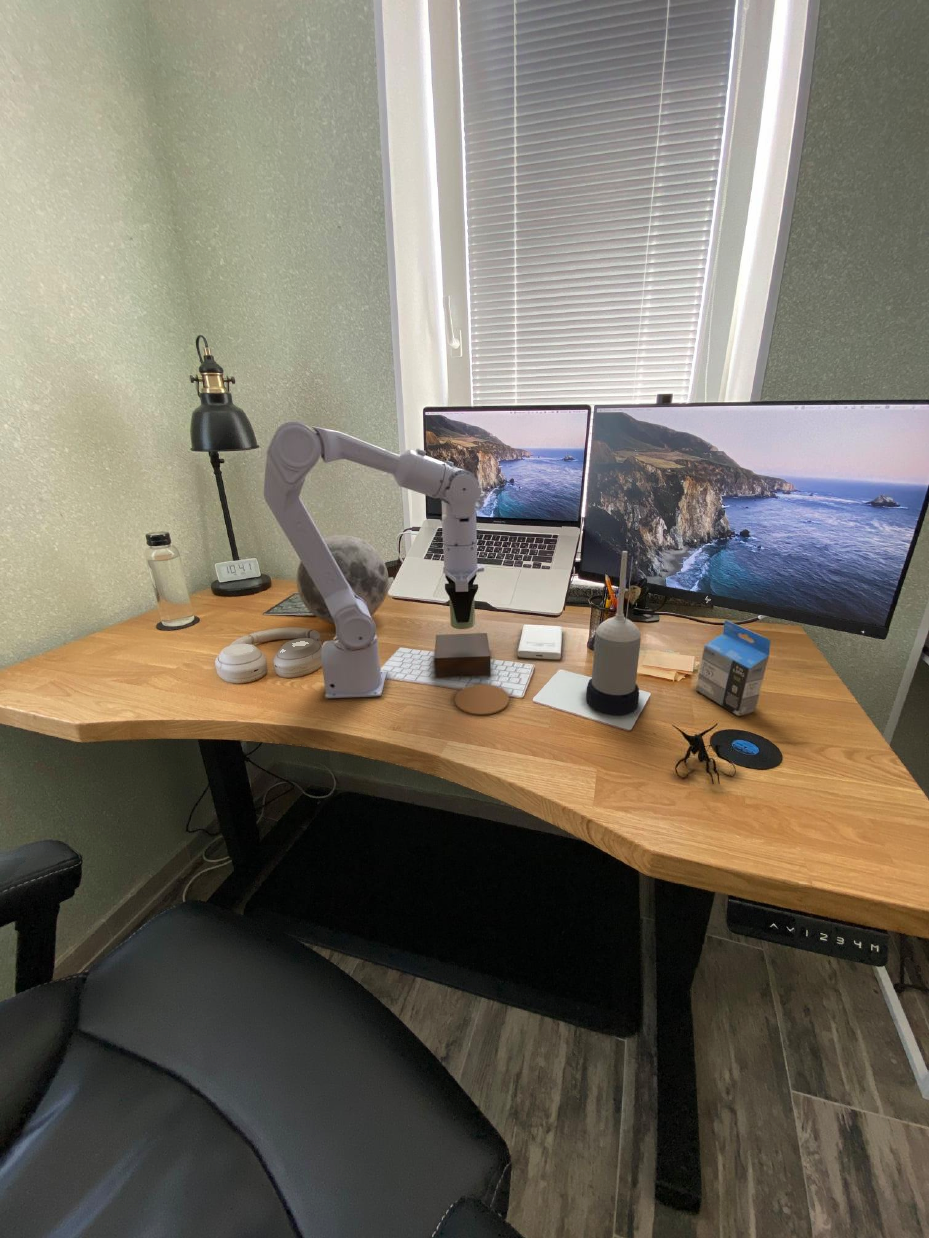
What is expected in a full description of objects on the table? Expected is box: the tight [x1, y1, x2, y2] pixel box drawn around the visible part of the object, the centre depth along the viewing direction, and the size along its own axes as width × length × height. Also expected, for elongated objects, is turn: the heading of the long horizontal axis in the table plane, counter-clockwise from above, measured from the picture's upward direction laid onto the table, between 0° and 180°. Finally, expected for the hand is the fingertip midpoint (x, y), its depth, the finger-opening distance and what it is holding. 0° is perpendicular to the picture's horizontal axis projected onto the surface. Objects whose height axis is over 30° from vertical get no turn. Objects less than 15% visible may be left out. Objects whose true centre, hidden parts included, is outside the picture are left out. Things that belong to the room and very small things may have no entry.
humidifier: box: [585, 550, 642, 717], centre depth 77 cm, size 8×8×25 cm
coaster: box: [454, 684, 510, 716], centre depth 84 cm, size 9×9×1 cm
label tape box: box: [695, 619, 772, 717], centre depth 79 cm, size 9×4×12 cm, turn 21°
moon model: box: [295, 534, 389, 625], centre depth 113 cm, size 20×20×20 cm
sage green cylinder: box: [448, 596, 476, 630], centre depth 90 cm, size 4×4×7 cm
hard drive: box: [517, 624, 563, 660], centre depth 102 cm, size 2×8×12 cm
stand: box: [433, 632, 492, 679], centre depth 95 cm, size 10×10×4 cm
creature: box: [671, 722, 737, 786], centre depth 65 cm, size 8×5×8 cm
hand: (462, 616), depth 90 cm, fingers closed on sage green cylinder, 4 cm apart
